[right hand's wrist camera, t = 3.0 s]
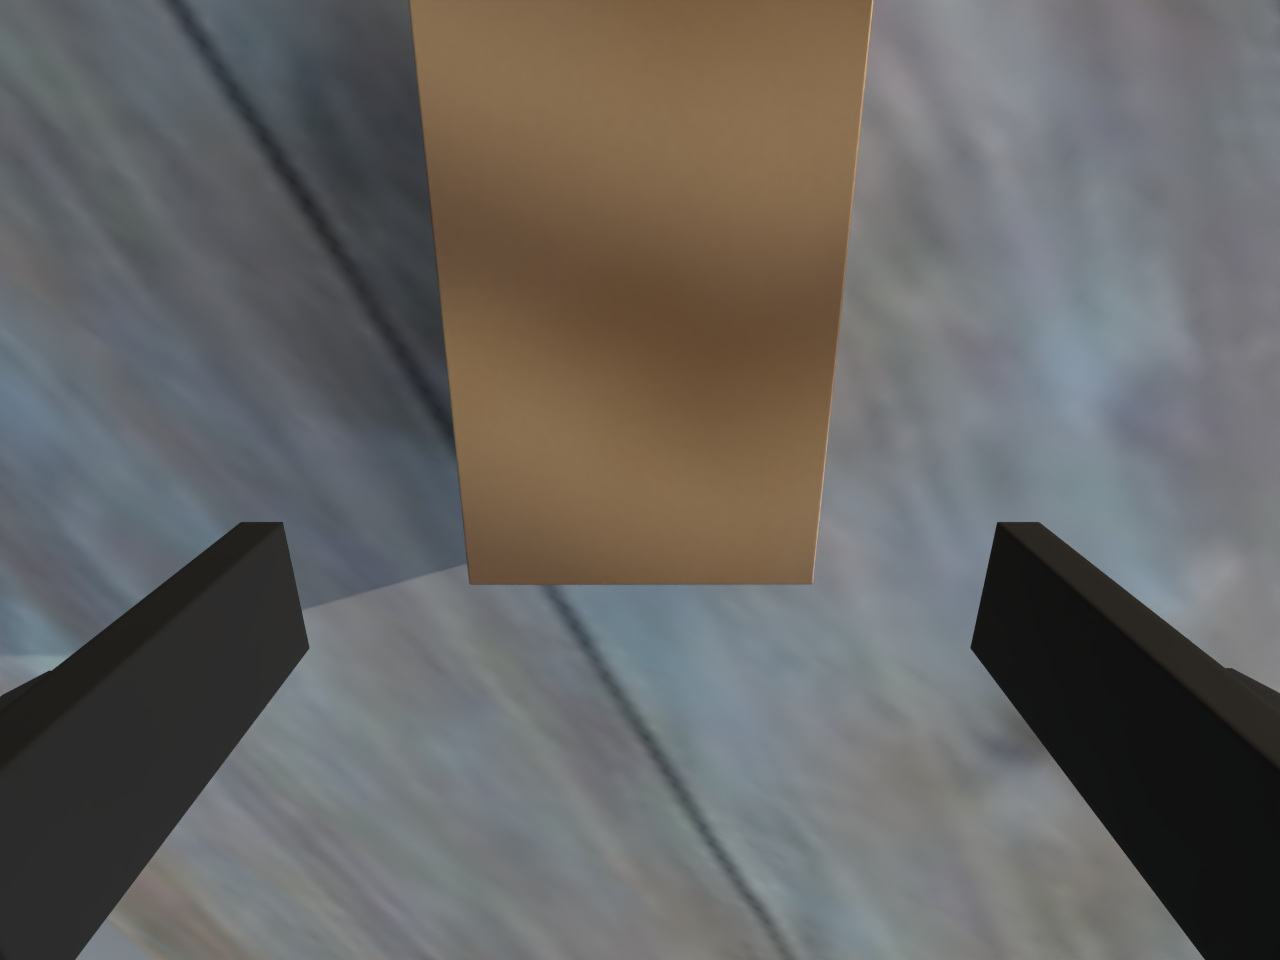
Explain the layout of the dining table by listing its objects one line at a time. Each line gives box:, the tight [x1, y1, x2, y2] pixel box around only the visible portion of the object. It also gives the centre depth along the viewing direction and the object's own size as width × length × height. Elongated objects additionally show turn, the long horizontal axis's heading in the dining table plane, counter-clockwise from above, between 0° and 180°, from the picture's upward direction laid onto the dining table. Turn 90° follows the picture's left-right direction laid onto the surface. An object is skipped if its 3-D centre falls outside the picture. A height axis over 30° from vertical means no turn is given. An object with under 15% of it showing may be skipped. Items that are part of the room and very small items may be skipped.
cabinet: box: [408, 0, 874, 585], centre depth 21 cm, size 18×10×8 cm, turn 0°
